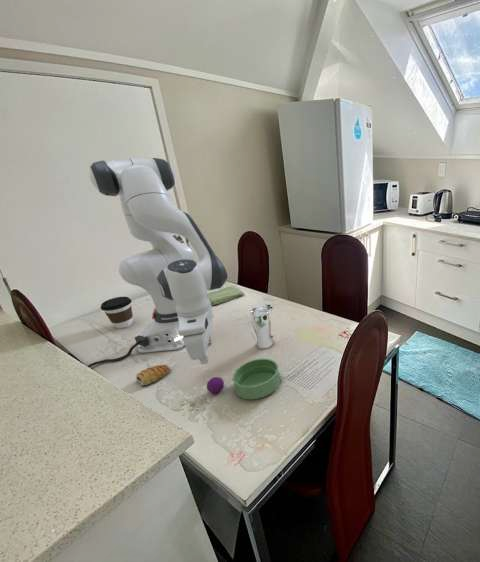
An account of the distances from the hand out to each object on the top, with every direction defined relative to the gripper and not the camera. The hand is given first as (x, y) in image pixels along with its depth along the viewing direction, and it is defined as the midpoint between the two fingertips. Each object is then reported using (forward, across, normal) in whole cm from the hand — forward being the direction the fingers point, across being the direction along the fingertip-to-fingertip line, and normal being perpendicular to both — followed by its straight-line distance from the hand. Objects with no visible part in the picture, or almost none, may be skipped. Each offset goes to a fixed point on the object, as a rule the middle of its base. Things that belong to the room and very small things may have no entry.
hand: (206, 353), depth 97 cm
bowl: (+15, +2, +13) cm, 20 cm away
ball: (+15, 0, 0) cm, 15 cm away
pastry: (+15, -15, -22) cm, 31 cm away
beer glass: (+15, -22, +16) cm, 31 cm away
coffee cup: (+15, -61, -44) cm, 77 cm away
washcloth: (+15, -75, -3) cm, 77 cm away
